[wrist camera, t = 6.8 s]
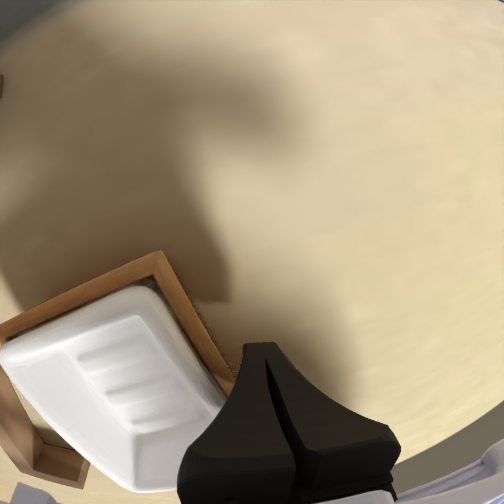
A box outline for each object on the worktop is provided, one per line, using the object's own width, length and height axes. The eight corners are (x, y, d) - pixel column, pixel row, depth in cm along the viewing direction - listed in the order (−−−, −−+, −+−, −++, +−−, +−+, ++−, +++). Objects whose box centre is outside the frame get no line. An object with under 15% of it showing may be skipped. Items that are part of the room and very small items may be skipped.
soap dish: (24, 295, 14) (-25, 345, 9) (174, 220, 14) (152, 261, 9) (139, 442, 18) (129, 501, 14) (273, 407, 18) (288, 473, 13)
